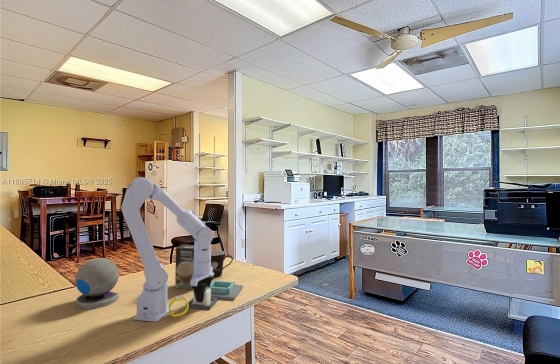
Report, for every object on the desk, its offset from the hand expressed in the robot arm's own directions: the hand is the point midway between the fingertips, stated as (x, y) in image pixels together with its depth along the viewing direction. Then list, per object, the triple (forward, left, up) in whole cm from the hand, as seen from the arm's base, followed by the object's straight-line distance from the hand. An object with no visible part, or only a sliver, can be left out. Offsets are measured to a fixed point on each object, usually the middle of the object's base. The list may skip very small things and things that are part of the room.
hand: (202, 299), depth 103 cm
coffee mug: (+29, +5, -2) cm, 29 cm away
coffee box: (+15, +12, -2) cm, 19 cm away
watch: (-9, +4, -2) cm, 10 cm away
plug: (0, 0, -2) cm, 2 cm away
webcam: (-4, +37, -2) cm, 37 cm away
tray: (0, 0, -2) cm, 2 cm away
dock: (+11, -3, -2) cm, 12 cm away
